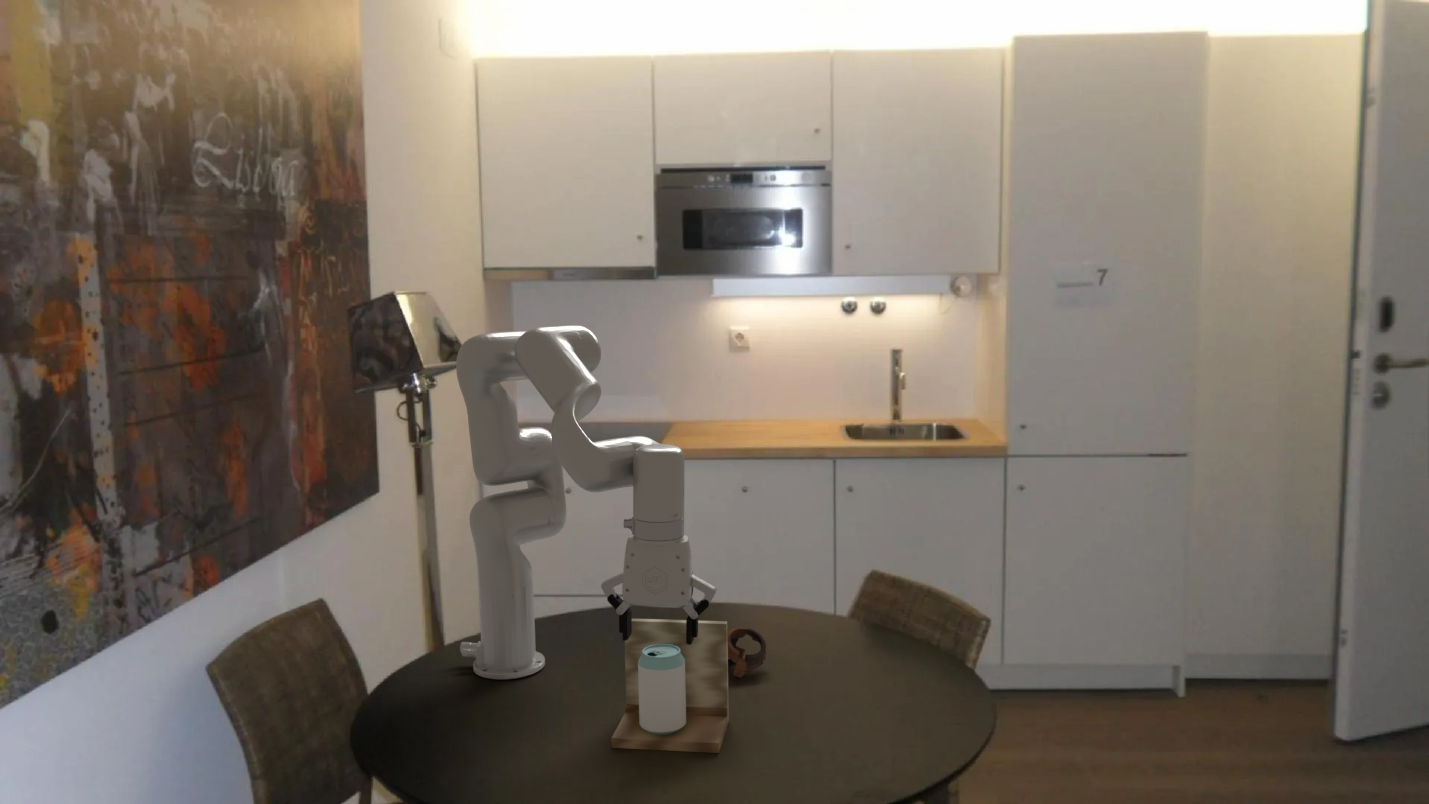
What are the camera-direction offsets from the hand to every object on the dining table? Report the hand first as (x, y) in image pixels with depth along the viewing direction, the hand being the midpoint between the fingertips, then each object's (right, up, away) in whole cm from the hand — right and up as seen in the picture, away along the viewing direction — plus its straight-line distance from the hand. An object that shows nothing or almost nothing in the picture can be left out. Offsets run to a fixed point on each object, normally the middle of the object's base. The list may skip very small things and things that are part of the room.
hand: (658, 639), depth 156 cm
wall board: (+2, -15, +2) cm, 15 cm away
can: (+1, -14, +1) cm, 14 cm away
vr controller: (+12, -12, +29) cm, 33 cm away
